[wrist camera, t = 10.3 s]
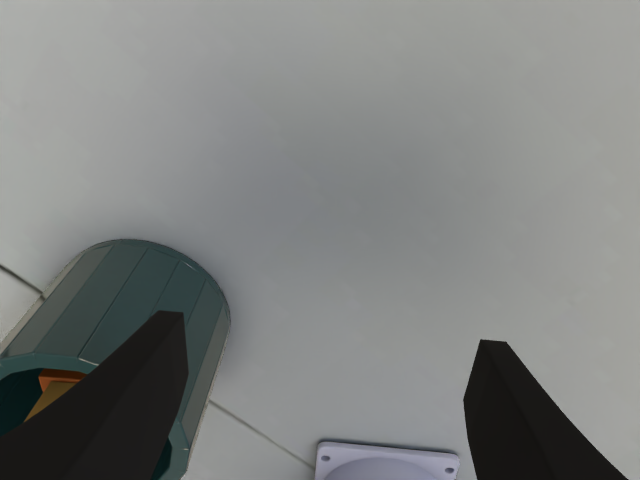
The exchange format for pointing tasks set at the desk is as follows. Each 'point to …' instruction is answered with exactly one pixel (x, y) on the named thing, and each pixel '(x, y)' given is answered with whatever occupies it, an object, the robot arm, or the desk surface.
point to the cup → (118, 331)
